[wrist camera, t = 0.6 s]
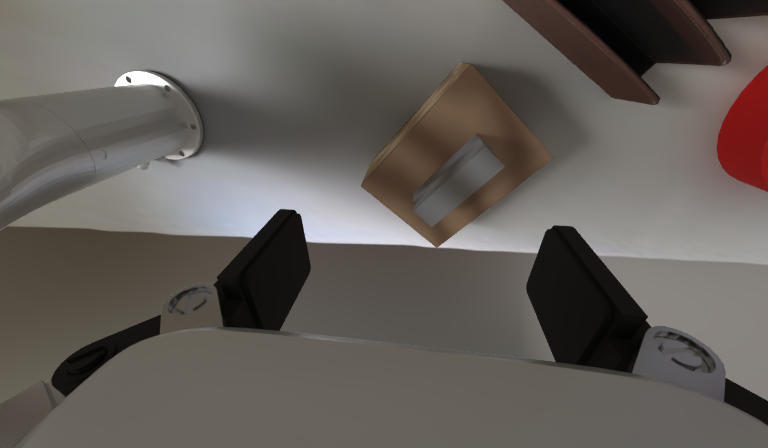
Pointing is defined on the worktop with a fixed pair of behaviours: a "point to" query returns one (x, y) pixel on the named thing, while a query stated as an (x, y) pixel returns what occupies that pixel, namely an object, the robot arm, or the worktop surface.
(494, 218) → the worktop surface
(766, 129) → the toy clock
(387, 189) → the lid
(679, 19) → the letter holder
